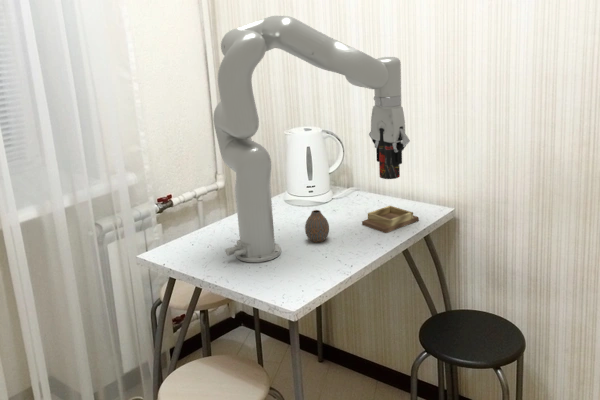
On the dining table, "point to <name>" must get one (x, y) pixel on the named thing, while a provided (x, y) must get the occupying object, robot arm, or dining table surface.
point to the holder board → (389, 219)
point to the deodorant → (387, 159)
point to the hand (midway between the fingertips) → (389, 162)
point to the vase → (317, 227)
